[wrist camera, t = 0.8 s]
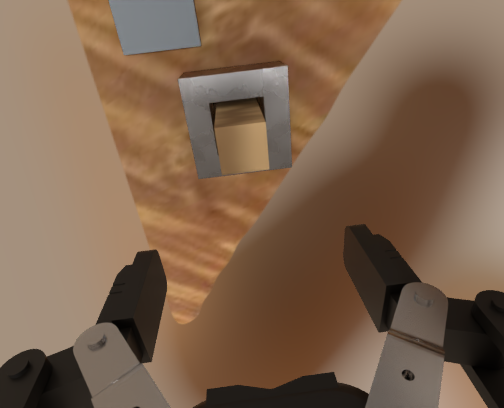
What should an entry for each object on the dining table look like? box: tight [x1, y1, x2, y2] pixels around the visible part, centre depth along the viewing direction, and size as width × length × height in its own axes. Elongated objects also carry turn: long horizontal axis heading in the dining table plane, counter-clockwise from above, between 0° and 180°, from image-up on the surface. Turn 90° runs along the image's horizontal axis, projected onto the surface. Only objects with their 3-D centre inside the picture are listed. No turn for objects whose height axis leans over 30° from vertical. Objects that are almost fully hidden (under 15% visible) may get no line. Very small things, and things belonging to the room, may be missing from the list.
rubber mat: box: [109, 0, 201, 55], centre depth 29 cm, size 8×8×1 cm
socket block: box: [178, 61, 292, 179], centre depth 33 cm, size 10×10×4 cm
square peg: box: [214, 98, 269, 175], centre depth 30 cm, size 4×4×11 cm
